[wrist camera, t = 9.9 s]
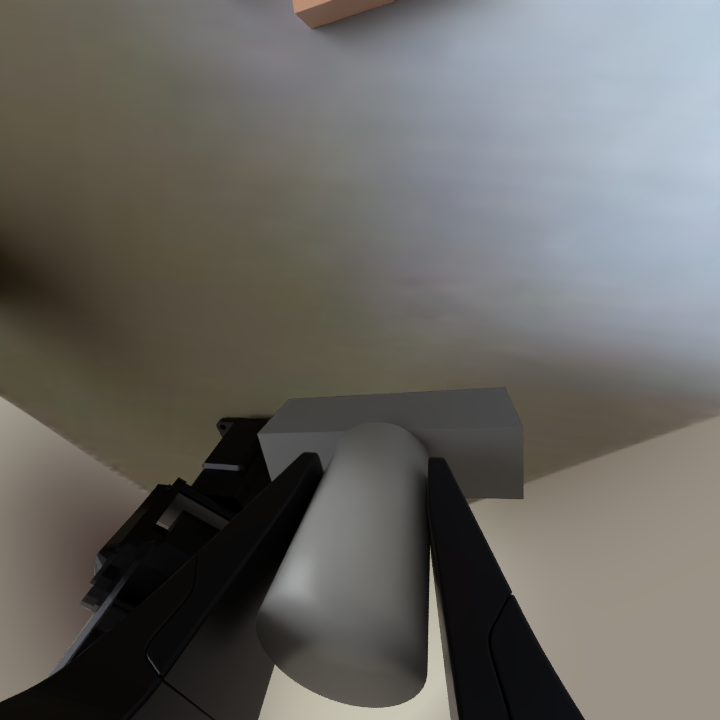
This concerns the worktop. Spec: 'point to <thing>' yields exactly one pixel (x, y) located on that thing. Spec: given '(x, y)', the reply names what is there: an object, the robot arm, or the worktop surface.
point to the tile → (332, 9)
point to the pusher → (374, 531)
